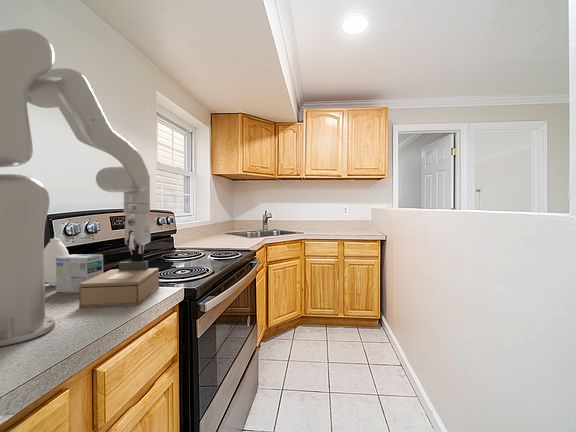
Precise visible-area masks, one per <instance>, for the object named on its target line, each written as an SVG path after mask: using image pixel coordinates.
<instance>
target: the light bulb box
mask: <svg viewBox="0 0 576 432" xmlns="http://www.w3.org/2000/svg"><path fill="white" fill-rule="evenodd" d="M102 273H104V254H91V253H90V254H83V253H81V254H78V253H77V254H76V253H75V254H74V253H73V254H69V255H66V256H59V257H56V286H55V287H56V289H55V292H56V293H73V294H74V293H75V294H77V293H78V294H79V288H81V287H79V284H80V283H82V282H84V281H87V280H89V279H91V278H93V277H96V276H98V275H100V274H102Z"/></svg>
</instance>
